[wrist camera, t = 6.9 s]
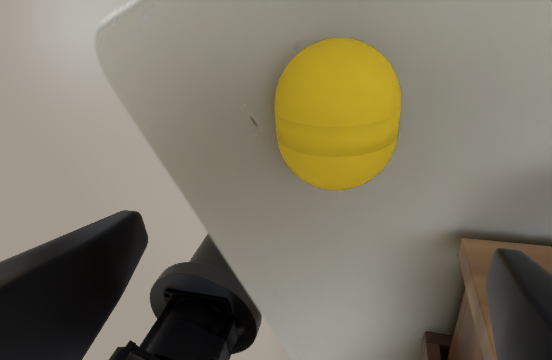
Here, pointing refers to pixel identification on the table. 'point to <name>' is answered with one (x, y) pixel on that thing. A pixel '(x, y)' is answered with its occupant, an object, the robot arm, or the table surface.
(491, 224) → the table surface
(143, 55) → the table surface
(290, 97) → the yellow plastic egg
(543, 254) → the drawer
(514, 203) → the table surface
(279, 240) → the table surface
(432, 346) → the cabinet
